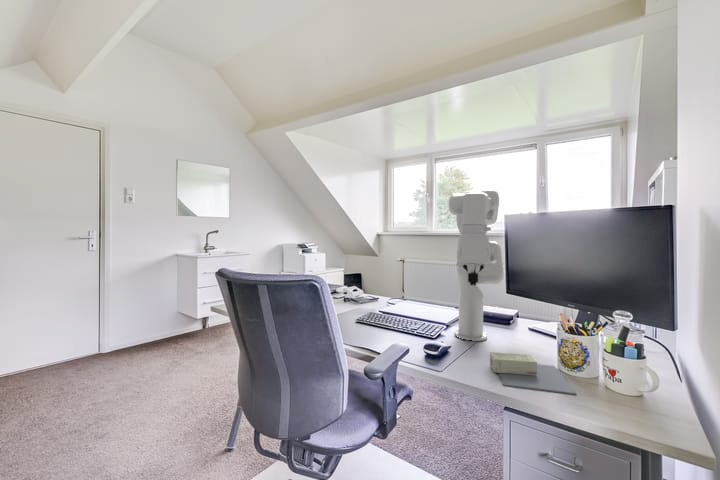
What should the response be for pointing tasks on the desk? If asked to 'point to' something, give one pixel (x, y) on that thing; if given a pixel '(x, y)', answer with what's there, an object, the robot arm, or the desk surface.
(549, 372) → the desk mat
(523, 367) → the skincare box
